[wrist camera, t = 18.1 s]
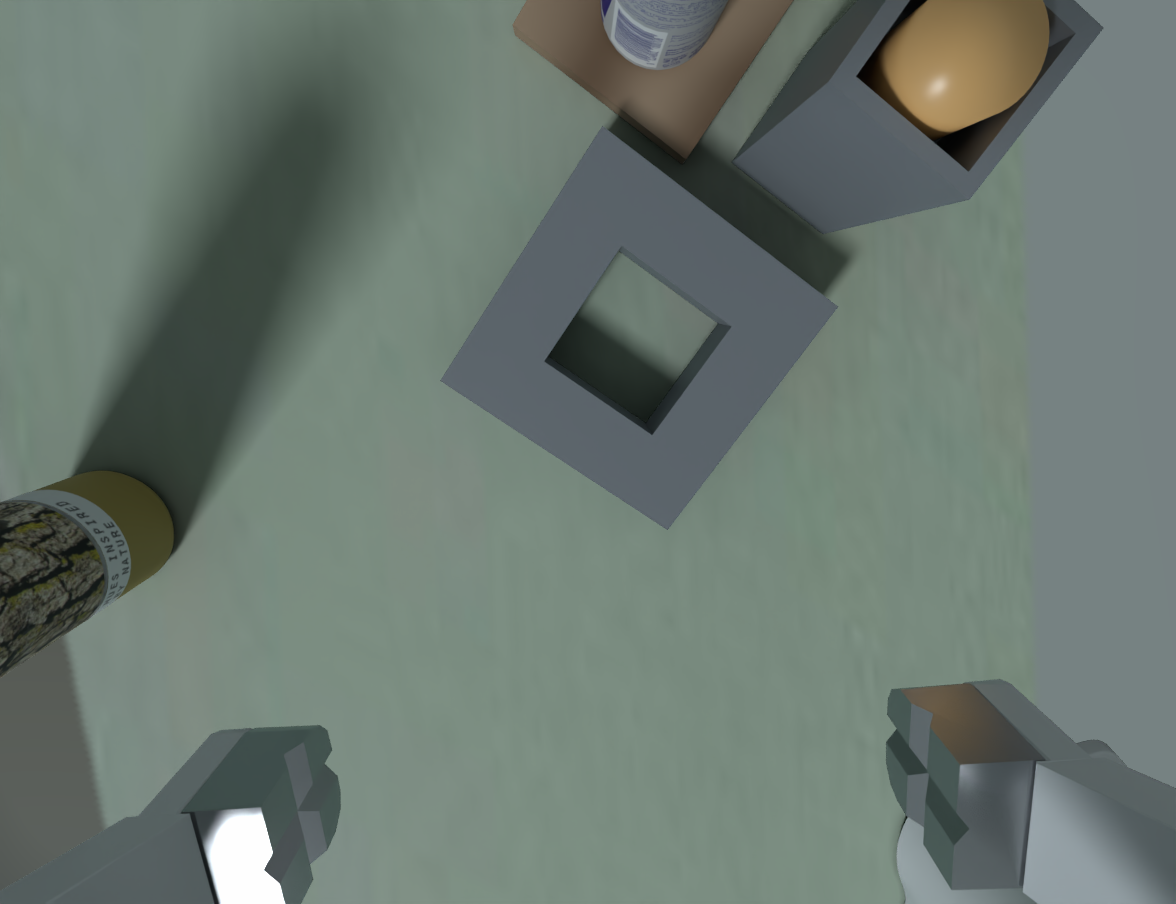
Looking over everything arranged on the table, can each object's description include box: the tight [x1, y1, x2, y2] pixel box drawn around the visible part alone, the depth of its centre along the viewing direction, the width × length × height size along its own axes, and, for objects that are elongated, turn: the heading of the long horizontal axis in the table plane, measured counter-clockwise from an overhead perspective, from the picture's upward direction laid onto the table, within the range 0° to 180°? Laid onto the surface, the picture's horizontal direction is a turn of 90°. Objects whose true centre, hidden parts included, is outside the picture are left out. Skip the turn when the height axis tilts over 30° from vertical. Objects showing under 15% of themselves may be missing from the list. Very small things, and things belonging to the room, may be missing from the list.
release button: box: [856, 0, 1049, 141], centre depth 21 cm, size 4×4×4 cm
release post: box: [732, 0, 1103, 234], centre depth 25 cm, size 6×6×12 cm
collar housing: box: [440, 126, 838, 530], centre depth 32 cm, size 14×14×3 cm
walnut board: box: [513, 0, 793, 164], centre depth 29 cm, size 10×10×1 cm
